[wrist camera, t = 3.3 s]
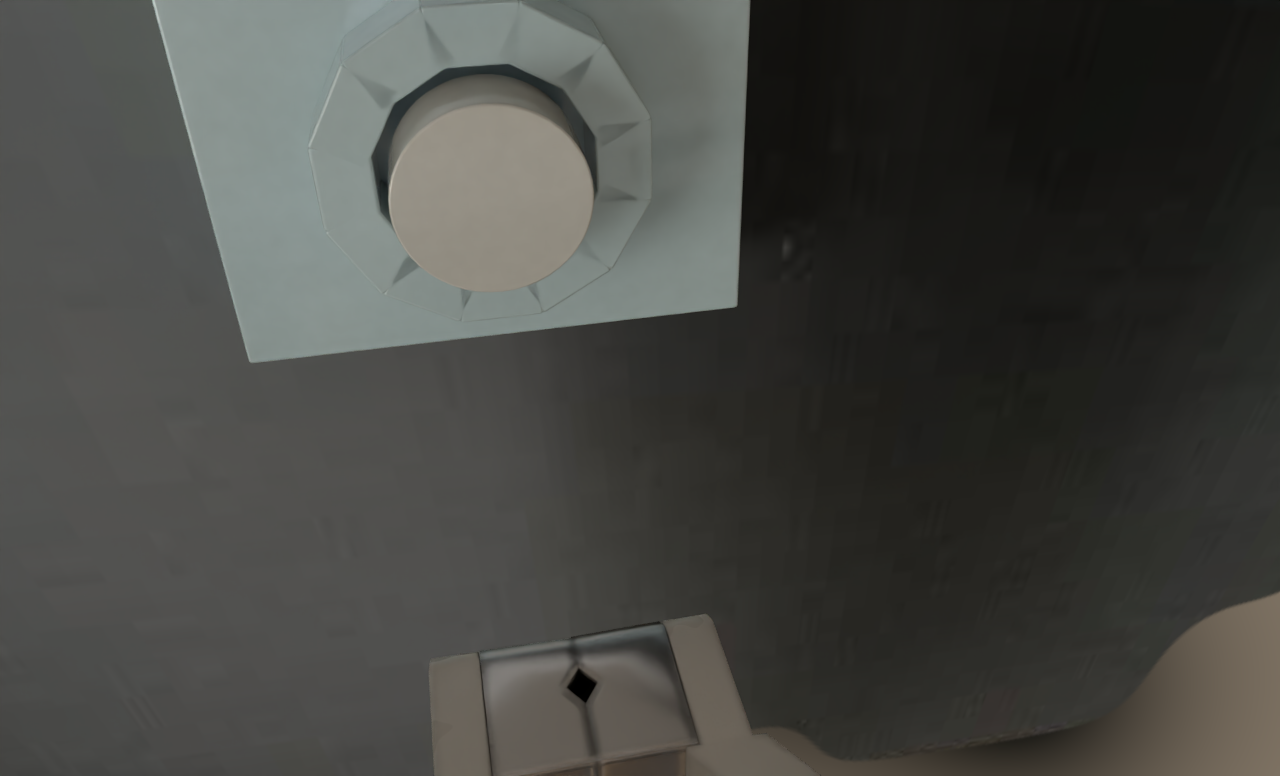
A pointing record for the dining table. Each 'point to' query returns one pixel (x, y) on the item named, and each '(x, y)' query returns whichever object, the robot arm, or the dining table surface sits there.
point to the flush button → (488, 184)
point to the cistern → (365, 124)
